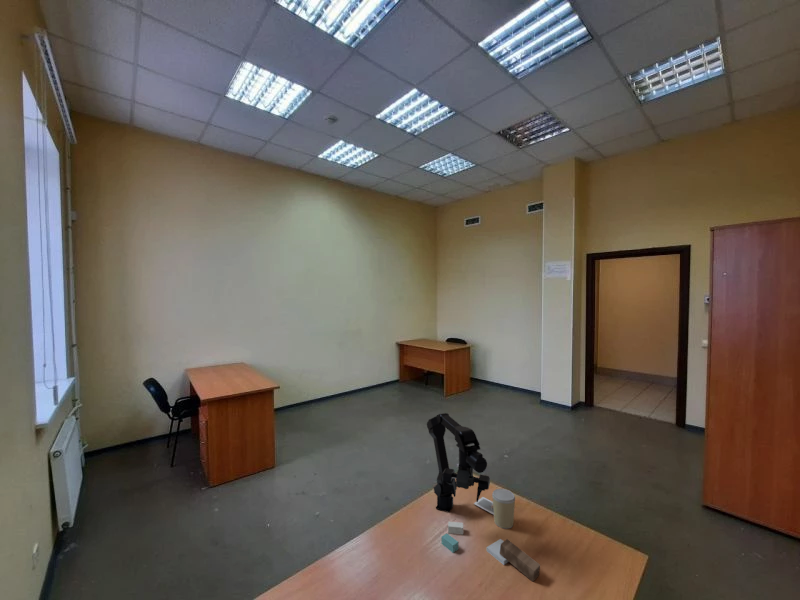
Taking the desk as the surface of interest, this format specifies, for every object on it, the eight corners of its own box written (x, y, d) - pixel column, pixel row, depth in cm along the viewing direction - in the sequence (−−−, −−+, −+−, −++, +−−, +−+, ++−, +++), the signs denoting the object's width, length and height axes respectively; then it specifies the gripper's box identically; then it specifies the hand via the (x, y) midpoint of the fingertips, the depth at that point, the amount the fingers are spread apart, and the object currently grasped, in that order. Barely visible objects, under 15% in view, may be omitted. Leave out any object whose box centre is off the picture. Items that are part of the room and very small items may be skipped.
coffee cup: (512, 516, 144) (512, 488, 144) (517, 531, 135) (517, 501, 135) (490, 514, 145) (490, 487, 146) (494, 529, 136) (494, 500, 136)
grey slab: (486, 552, 124) (486, 547, 124) (500, 544, 129) (500, 538, 129) (503, 566, 118) (503, 561, 118) (517, 557, 122) (518, 551, 122)
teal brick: (441, 544, 128) (441, 536, 128) (446, 540, 130) (446, 533, 130) (453, 553, 123) (453, 545, 123) (458, 549, 125) (458, 541, 125)
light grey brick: (448, 533, 134) (448, 526, 134) (448, 528, 137) (448, 521, 137) (463, 535, 133) (463, 527, 133) (462, 529, 136) (462, 522, 136)
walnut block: (500, 544, 120) (534, 571, 110) (506, 538, 123) (540, 564, 113) (499, 553, 121) (532, 581, 111) (505, 548, 123) (538, 575, 113)
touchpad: (502, 522, 141) (502, 517, 141) (473, 506, 152) (473, 501, 152) (511, 514, 147) (511, 509, 147) (482, 499, 158) (482, 494, 158)
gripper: (438, 465, 131) (438, 504, 131) (486, 475, 124) (486, 516, 124) (445, 453, 142) (445, 490, 142) (490, 461, 135) (490, 500, 135)
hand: (465, 499), depth 135 cm, fingers open, 9 cm apart
